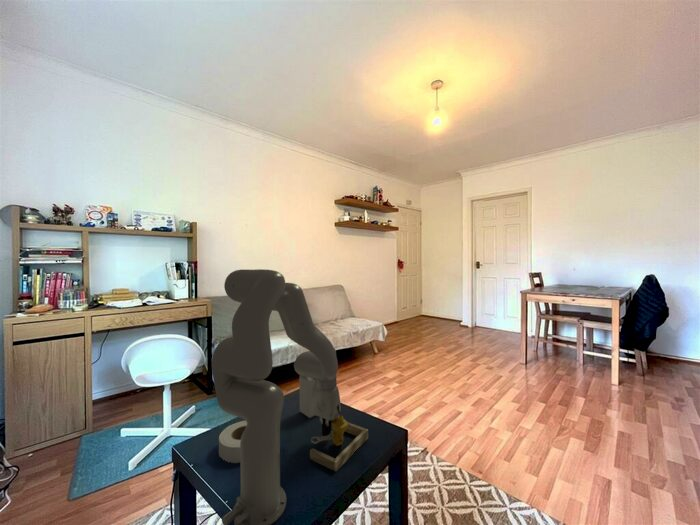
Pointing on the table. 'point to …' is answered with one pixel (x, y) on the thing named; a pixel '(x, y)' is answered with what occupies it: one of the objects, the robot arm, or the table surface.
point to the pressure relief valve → (335, 432)
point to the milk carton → (306, 395)
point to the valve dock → (346, 453)
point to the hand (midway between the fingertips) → (326, 434)
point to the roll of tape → (231, 442)
